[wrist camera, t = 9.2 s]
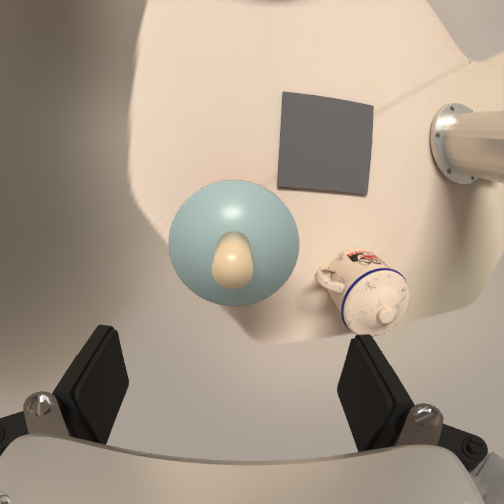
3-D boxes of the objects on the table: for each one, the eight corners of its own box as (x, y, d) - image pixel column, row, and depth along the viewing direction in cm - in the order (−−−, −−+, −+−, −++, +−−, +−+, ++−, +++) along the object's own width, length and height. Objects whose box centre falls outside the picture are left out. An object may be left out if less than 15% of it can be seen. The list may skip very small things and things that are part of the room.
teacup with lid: (390, 256, 40) (433, 291, 29) (364, 310, 43) (396, 355, 32) (319, 229, 38) (350, 260, 27) (294, 290, 41) (312, 337, 30)
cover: (300, 182, 25) (319, 191, 19) (291, 300, 28) (304, 336, 22) (169, 179, 24) (148, 188, 18) (175, 298, 28) (160, 334, 22)
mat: (372, 106, 33) (373, 105, 33) (365, 194, 37) (367, 194, 37) (282, 92, 33) (283, 91, 32) (277, 186, 36) (277, 186, 36)
